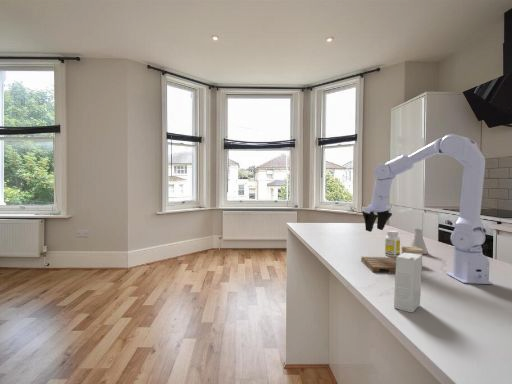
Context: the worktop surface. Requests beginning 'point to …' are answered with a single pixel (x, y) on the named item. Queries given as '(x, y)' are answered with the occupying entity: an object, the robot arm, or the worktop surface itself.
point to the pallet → (380, 263)
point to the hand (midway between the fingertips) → (374, 230)
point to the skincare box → (408, 282)
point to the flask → (419, 240)
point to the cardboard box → (411, 250)
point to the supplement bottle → (392, 244)
